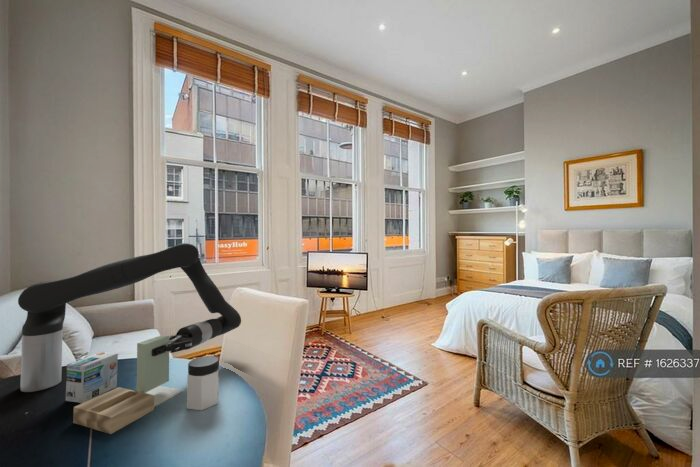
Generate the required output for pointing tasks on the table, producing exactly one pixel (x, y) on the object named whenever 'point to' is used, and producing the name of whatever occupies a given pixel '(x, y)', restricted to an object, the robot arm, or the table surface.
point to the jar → (202, 382)
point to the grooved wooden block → (113, 410)
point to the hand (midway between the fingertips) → (148, 352)
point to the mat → (163, 394)
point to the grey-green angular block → (152, 364)
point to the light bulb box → (91, 377)
